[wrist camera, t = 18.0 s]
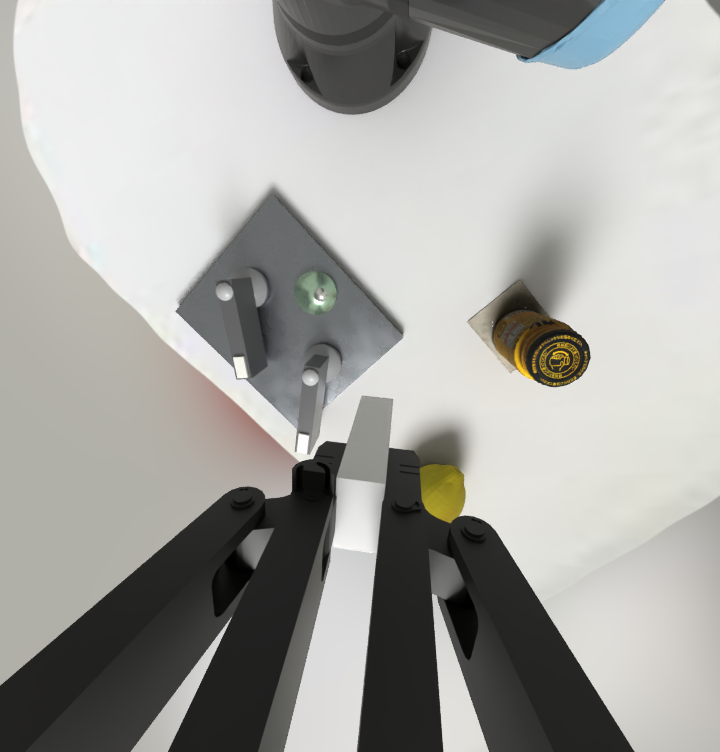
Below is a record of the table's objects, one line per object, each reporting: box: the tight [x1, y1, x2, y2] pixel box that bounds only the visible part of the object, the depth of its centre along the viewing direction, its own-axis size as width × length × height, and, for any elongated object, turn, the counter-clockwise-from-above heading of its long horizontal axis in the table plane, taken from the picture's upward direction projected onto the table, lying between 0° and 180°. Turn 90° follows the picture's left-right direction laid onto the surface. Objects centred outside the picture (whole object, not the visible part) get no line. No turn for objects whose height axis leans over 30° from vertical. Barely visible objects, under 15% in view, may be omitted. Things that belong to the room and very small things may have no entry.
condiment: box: [468, 280, 591, 387], centre depth 36 cm, size 7×8×12 cm
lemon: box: [420, 464, 465, 523], centre depth 45 cm, size 11×8×8 cm
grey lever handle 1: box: [215, 267, 269, 379], centre depth 40 cm, size 12×5×6 cm, turn 6°
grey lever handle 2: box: [295, 344, 342, 455], centre depth 42 cm, size 12×5×6 cm, turn 171°
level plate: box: [176, 194, 403, 428], centre depth 43 cm, size 22×19×2 cm
